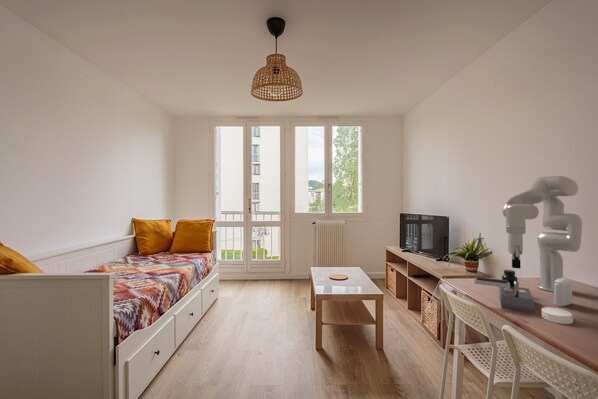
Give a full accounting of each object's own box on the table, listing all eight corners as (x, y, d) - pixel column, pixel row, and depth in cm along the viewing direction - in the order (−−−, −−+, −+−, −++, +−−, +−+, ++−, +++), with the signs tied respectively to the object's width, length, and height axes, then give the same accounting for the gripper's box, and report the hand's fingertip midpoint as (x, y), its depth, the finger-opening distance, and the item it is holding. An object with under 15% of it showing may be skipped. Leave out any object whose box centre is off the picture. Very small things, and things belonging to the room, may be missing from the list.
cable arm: (474, 283, 140) (474, 277, 140) (475, 282, 142) (474, 276, 142) (510, 288, 132) (509, 281, 132) (509, 286, 134) (509, 280, 134)
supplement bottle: (520, 295, 149) (520, 272, 149) (505, 294, 150) (505, 272, 150) (513, 291, 156) (513, 269, 156) (499, 290, 157) (499, 268, 157)
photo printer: (562, 300, 140) (562, 275, 140) (573, 303, 136) (573, 278, 136) (551, 304, 136) (551, 278, 136) (562, 307, 132) (562, 281, 132)
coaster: (541, 312, 127) (541, 305, 127) (572, 318, 121) (572, 310, 121) (541, 320, 120) (540, 312, 120) (573, 327, 113) (573, 318, 113)
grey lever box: (499, 296, 148) (498, 272, 148) (528, 300, 142) (528, 275, 142) (501, 307, 133) (500, 281, 133) (534, 313, 126) (533, 285, 126)
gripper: (504, 228, 147) (505, 263, 147) (507, 231, 134) (508, 270, 134) (523, 229, 143) (523, 265, 143) (528, 232, 130) (528, 272, 130)
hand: (516, 267), depth 138 cm, fingers closed
